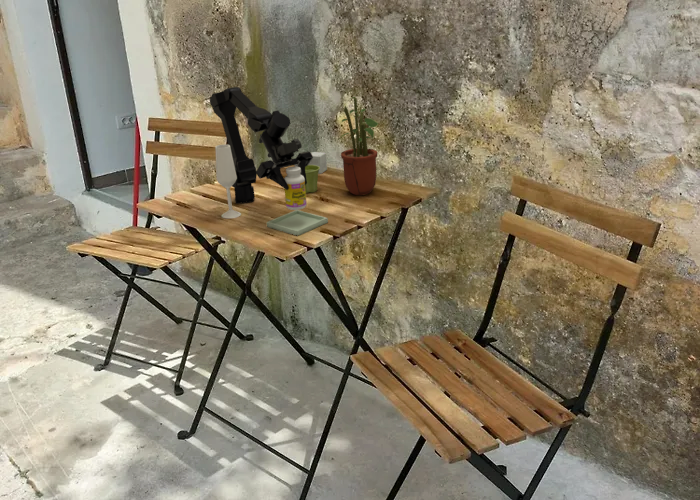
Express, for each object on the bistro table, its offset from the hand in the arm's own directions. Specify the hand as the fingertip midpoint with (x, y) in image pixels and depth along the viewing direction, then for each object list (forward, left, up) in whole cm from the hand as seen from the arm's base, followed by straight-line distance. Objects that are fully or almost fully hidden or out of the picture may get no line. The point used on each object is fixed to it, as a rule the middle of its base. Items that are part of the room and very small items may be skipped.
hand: (297, 186), depth 207 cm
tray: (-1, +1, -13) cm, 13 cm away
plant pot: (+7, +35, -13) cm, 38 cm away
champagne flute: (-22, +17, -13) cm, 31 cm away
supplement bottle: (-1, +1, -7) cm, 8 cm away
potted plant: (+25, +29, -13) cm, 41 cm away
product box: (+14, +59, -13) cm, 62 cm away
